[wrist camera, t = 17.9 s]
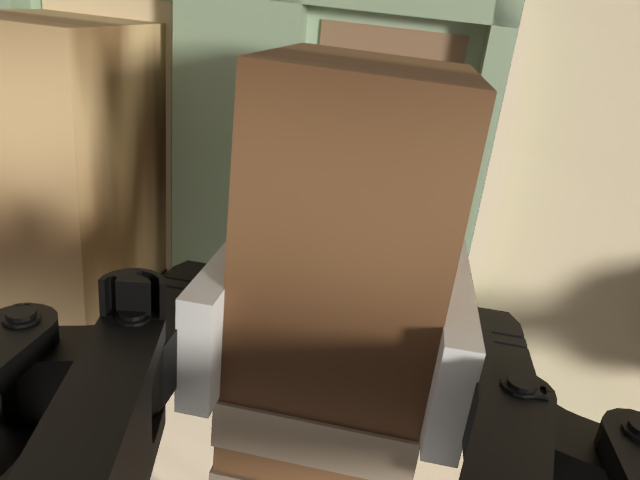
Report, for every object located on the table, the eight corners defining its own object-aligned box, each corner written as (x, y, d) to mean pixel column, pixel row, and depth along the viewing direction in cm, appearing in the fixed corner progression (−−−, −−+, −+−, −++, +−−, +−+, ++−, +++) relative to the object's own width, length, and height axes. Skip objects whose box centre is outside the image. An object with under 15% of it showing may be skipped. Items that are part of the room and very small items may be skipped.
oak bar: (43, 9, 21) (-100, 8, 15) (166, 23, 20) (66, 28, 14) (65, 306, 25) (-37, 390, 20) (167, 324, 25) (91, 416, 19)
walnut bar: (300, 42, 16) (232, 56, 10) (472, 65, 15) (501, 92, 10) (265, 403, 20) (204, 552, 15) (397, 430, 20) (386, 595, 14)
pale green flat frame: (23, -53, 21) (-20, -59, 19) (514, 0, 19) (525, -1, 17) (53, 310, 27) (23, 334, 25) (433, 380, 25) (434, 413, 23)
